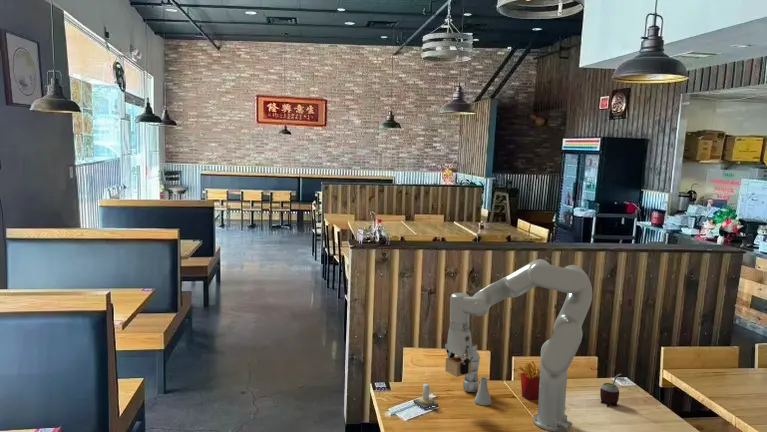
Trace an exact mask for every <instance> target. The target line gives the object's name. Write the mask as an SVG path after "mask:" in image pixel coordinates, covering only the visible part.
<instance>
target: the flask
mask: <svg viewBox="0 0 767 432" xmlns="http://www.w3.org/2000/svg"><path fill="white" fill-rule="evenodd" d="M479 380H480V382H479V387H478V390H477V391H476V392H477V393H476V395H475V398H474V399H473V402H474V403H475V404H476V405H480V406H491V405H492V403H493V401H492V397H491V395H490V393H489V389H488V381H489V378H488V377H485V376H482V377H481V376H480V378H479Z"/></svg>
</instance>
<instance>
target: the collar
mask: <svg viewBox="0 0 767 432" xmlns="http://www.w3.org/2000/svg"><path fill="white" fill-rule="evenodd" d="M464 360H466V358H465V357H464ZM461 364H462V360H461V357H460V356H458V355H455V356H454V357H450V358H448V357H446V358H445V372H447V373H449V374H450V375H452V376H454V377H456V378H457V377H462V376H465V375H467V374H471V362H470V363H469V367H468V373H467V374H463V375H462V374H461Z"/></svg>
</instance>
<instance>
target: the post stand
mask: <svg viewBox="0 0 767 432" xmlns="http://www.w3.org/2000/svg"><path fill="white" fill-rule="evenodd" d="M422 387H423V388H422V396H420V397H419V398H416V399H413V400H412V401H413V402H414V403H415V404H414V403H413V404H414V405H416V404H417V405H418V406H417V405H416V406H417V407H419V406H420V407H421V408H420V407H419V408H420V409H422V408H423V409H425V410H427V409H426V408H429V407H432V406H437V407H439V403H438V402H437V401H435V400H434V399H433V397H431V396H430V384H429V383H423V385H422ZM423 409H422V410H423ZM429 409H430V408H429Z"/></svg>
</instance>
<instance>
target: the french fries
mask: <svg viewBox="0 0 767 432" xmlns="http://www.w3.org/2000/svg"><path fill="white" fill-rule="evenodd" d="M518 369H519V370H520V371H521V373H520V385H521V397H522V398H523V397H524V398H523V399H525V400H527V401H529V402H532V401H539V382H540V367H539V368H538V367H536V364H535V362H534V361H533V360H531V362H526V363H525V365H524V368H523V367H521V366H518Z"/></svg>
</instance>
